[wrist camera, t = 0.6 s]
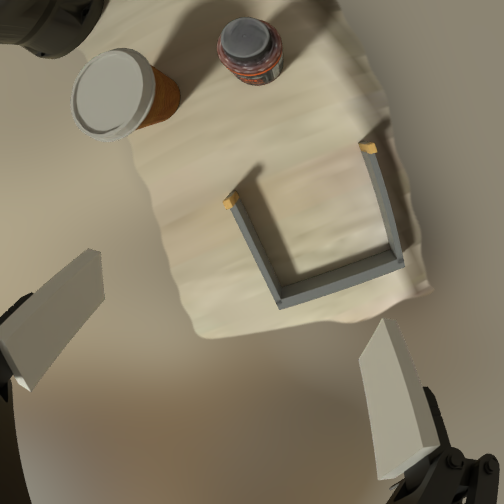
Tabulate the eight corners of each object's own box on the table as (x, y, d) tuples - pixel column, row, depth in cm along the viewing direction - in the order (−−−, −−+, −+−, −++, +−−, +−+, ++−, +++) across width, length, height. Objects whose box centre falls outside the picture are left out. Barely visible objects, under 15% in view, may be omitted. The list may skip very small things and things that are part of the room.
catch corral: (230, 192, 35) (222, 201, 31) (364, 140, 30) (374, 143, 26) (280, 297, 40) (278, 316, 37) (397, 256, 36) (408, 272, 32)
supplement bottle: (227, 82, 29) (199, 63, 19) (239, 38, 27) (216, 3, 17) (277, 91, 29) (272, 74, 19) (288, 47, 27) (288, 12, 16)
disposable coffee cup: (171, 147, 33) (120, 159, 23) (116, 118, 32) (56, 123, 22) (206, 80, 29) (167, 61, 19) (146, 55, 28) (92, 37, 18)
